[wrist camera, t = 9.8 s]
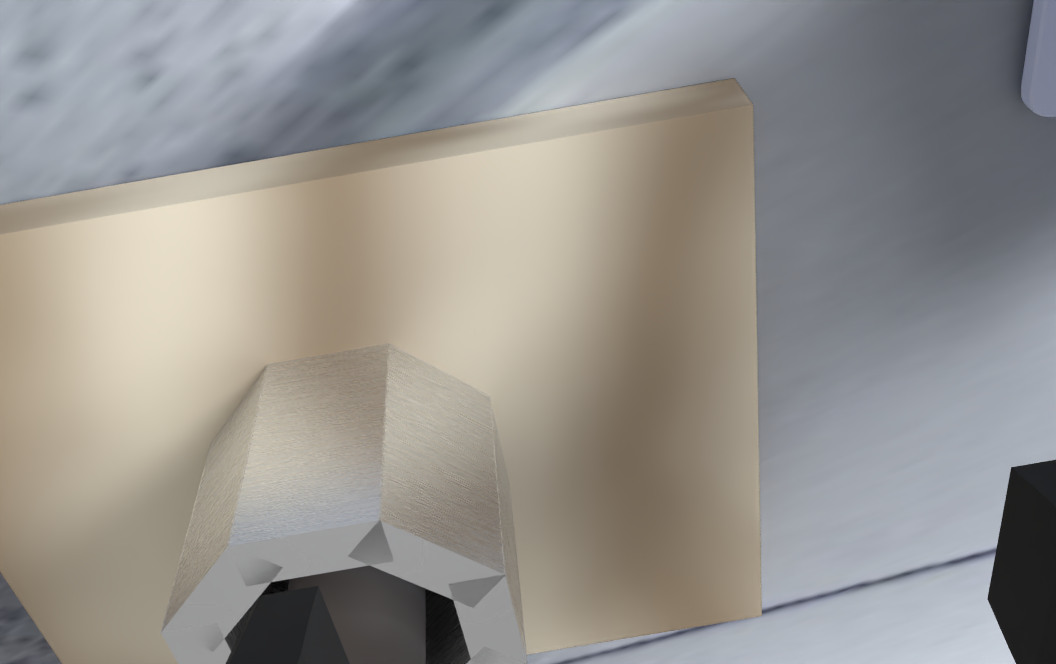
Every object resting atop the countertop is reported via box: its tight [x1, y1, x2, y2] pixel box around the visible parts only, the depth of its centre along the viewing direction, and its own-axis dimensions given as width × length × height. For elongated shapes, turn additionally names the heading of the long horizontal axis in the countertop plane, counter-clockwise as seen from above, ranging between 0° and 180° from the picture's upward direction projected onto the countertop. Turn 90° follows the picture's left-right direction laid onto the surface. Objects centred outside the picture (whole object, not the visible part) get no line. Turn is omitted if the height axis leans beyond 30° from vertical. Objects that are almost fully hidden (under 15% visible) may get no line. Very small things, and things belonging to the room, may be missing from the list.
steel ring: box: [160, 343, 528, 664], centre depth 18 cm, size 6×6×4 cm
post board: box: [0, 78, 762, 664], centre depth 19 cm, size 16×13×6 cm
